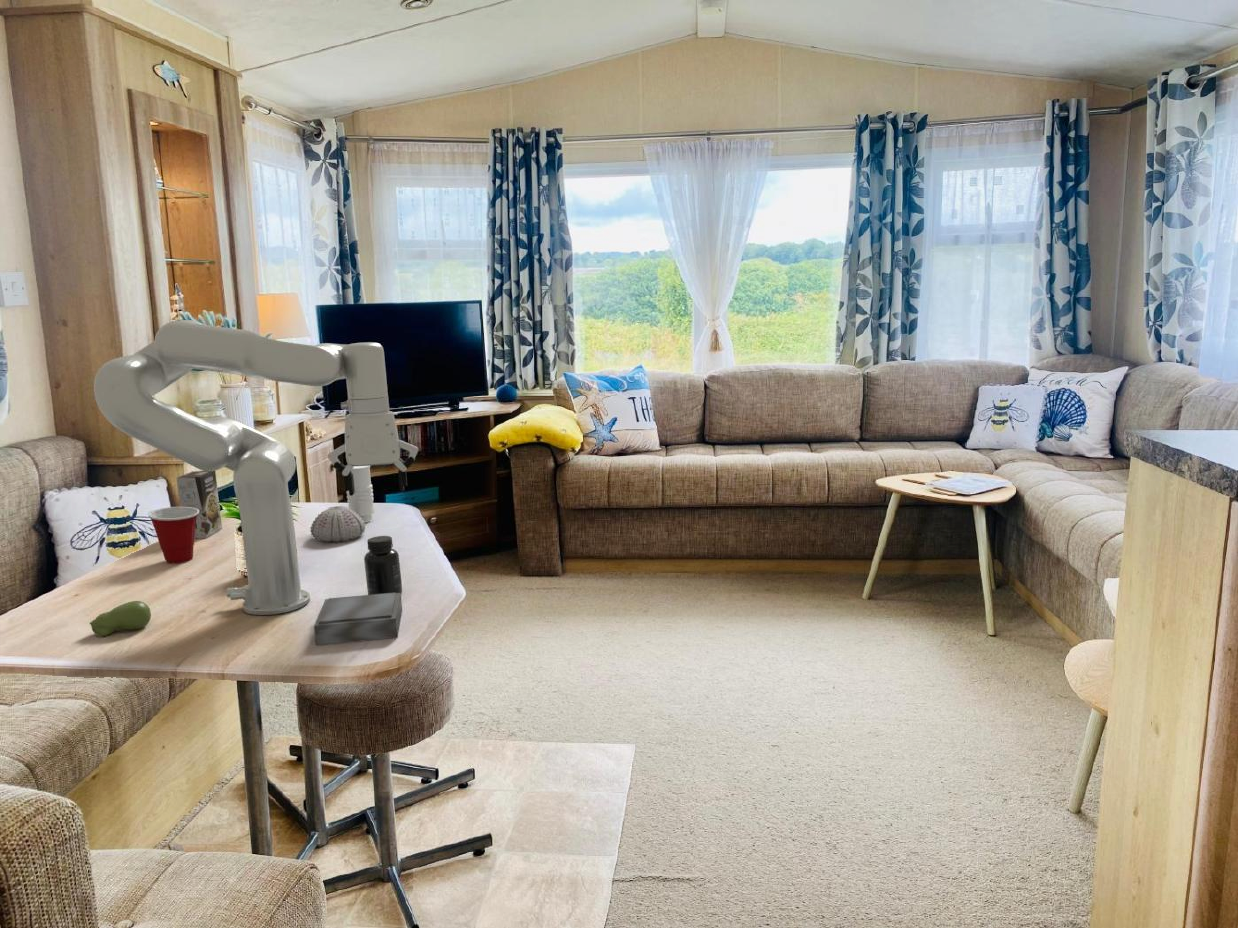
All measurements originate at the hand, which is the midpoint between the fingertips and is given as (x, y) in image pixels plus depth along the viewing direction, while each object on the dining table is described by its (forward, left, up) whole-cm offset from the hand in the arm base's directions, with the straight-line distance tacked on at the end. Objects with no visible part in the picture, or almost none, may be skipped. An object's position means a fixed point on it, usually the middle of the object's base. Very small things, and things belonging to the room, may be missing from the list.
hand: (377, 492), depth 180 cm
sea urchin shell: (-15, +49, -22) cm, 56 cm away
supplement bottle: (0, 0, -22) cm, 22 cm away
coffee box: (-51, +63, -22) cm, 84 cm away
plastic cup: (-50, +39, -22) cm, 67 cm away
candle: (-11, +65, -22) cm, 69 cm away
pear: (-48, -7, -22) cm, 53 cm away
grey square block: (-3, -17, -22) cm, 28 cm away
